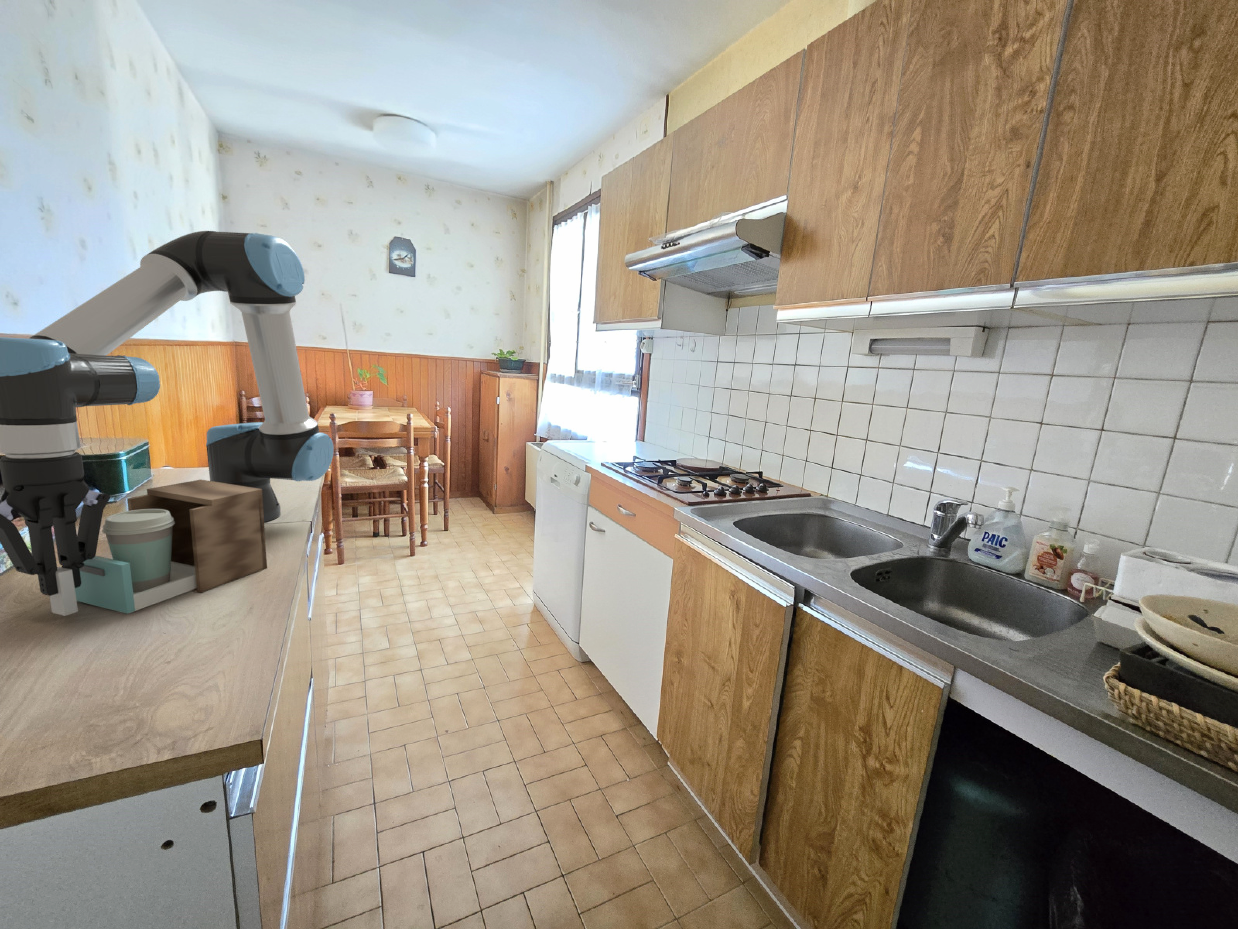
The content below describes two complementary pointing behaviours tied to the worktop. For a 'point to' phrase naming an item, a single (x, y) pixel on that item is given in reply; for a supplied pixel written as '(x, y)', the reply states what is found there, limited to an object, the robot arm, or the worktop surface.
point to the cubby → (212, 528)
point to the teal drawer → (127, 585)
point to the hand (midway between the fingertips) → (65, 611)
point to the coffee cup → (142, 544)
